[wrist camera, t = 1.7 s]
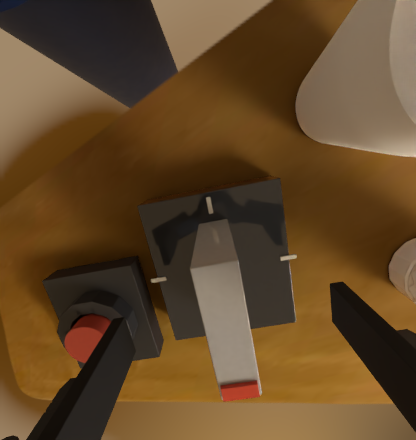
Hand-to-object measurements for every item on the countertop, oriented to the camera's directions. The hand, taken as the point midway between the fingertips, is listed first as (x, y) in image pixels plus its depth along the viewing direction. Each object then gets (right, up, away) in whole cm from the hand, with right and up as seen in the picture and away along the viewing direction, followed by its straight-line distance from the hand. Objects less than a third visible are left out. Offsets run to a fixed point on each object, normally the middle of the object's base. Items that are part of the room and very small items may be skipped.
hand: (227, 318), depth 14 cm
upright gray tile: (0, +2, +6) cm, 6 cm away
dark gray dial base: (0, +3, +9) cm, 9 cm away
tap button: (-12, -3, +11) cm, 16 cm away
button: (-12, -4, +7) cm, 15 cm away
